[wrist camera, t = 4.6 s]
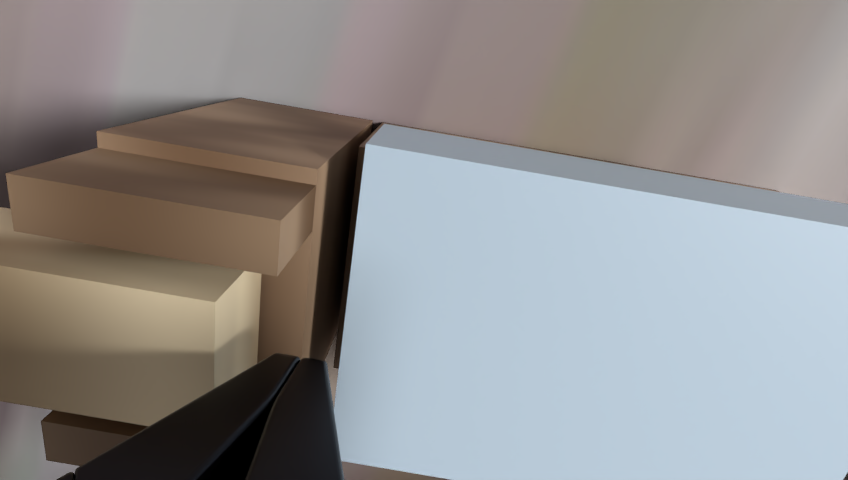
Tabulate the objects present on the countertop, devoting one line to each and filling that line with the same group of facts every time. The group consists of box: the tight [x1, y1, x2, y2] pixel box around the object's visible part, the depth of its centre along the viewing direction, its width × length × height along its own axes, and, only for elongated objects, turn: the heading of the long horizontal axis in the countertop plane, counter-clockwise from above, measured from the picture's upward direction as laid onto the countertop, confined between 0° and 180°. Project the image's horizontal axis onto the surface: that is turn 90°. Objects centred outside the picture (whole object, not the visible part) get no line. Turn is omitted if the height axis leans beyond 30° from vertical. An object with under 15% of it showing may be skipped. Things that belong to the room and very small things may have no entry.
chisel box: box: [6, 98, 779, 466], centre depth 12 cm, size 16×6×8 cm, turn 81°
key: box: [0, 207, 261, 426], centre depth 9 cm, size 8×3×2 cm, turn 81°
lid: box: [334, 124, 848, 480], centre depth 11 cm, size 11×7×2 cm, turn 81°
